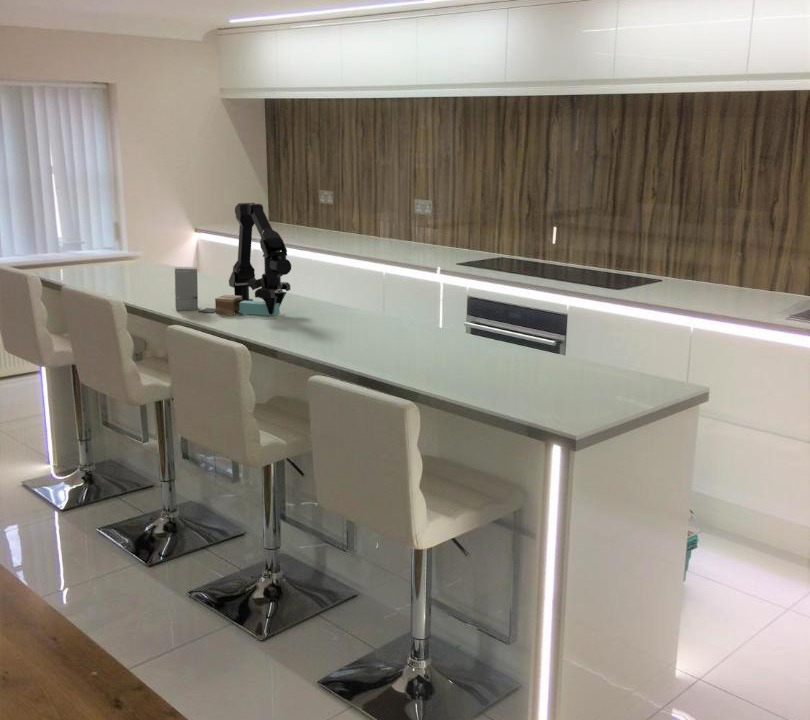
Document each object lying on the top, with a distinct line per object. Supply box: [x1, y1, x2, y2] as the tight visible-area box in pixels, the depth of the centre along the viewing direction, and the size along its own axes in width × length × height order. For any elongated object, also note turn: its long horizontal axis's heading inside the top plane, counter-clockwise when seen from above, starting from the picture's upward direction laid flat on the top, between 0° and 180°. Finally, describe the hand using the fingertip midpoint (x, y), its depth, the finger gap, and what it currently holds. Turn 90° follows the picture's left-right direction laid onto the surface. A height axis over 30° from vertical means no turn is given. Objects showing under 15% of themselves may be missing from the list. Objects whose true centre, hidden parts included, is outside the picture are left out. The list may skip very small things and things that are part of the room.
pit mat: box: [197, 307, 216, 314], centre depth 335 cm, size 7×6×1 cm
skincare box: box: [174, 266, 199, 311], centre depth 337 cm, size 8×7×16 cm
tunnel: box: [214, 294, 242, 316], centre depth 332 cm, size 8×7×6 cm
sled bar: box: [239, 300, 281, 316], centre depth 329 cm, size 4×14×4 cm, turn 74°
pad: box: [242, 312, 285, 319], centre depth 329 cm, size 8×13×1 cm, turn 74°
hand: (273, 313), depth 328 cm, fingers closed on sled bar, 4 cm apart
